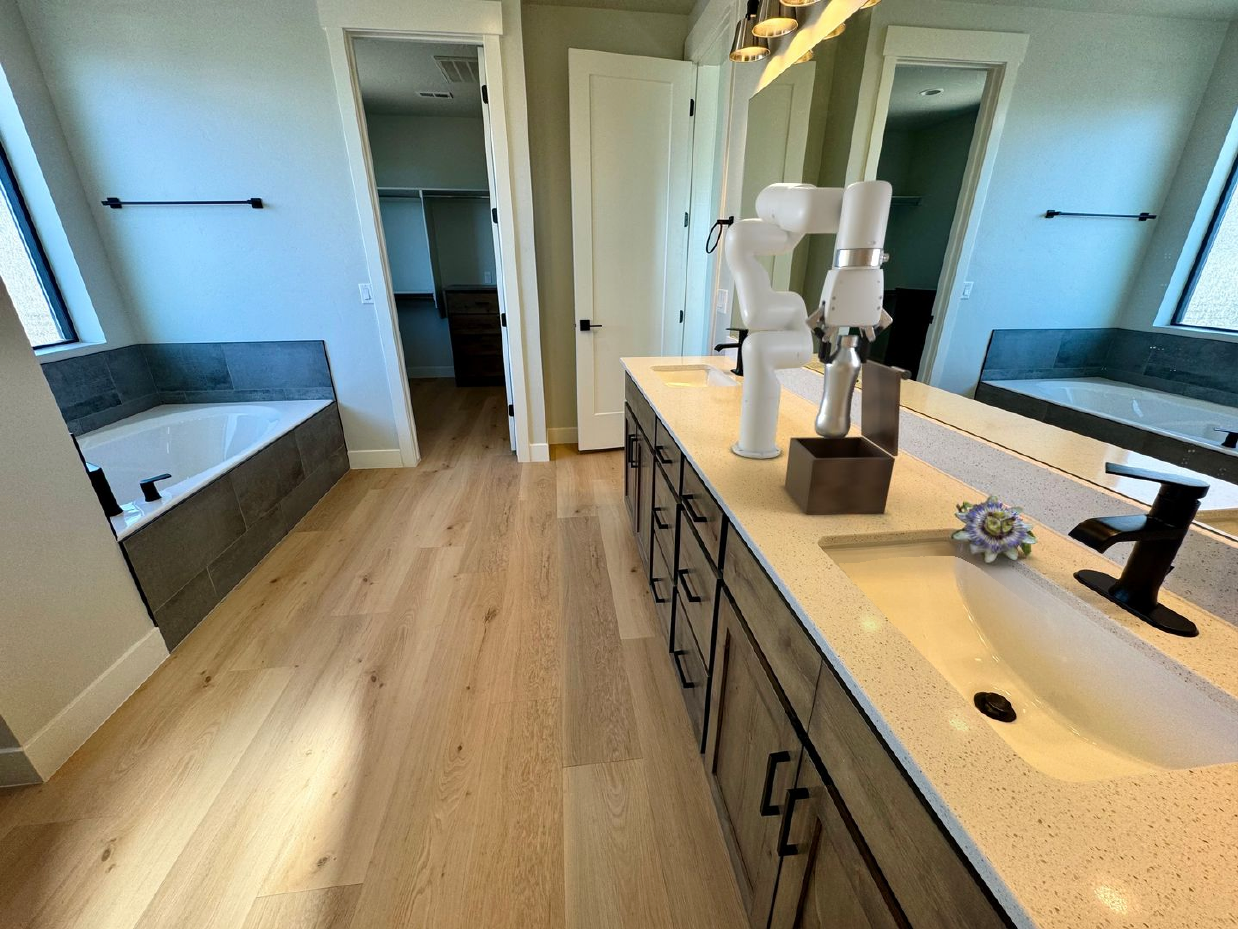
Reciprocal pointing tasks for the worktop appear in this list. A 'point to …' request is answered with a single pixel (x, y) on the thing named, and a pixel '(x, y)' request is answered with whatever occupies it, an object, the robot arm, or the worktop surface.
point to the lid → (881, 404)
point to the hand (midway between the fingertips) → (842, 361)
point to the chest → (838, 475)
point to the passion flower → (994, 529)
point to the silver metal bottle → (838, 389)
